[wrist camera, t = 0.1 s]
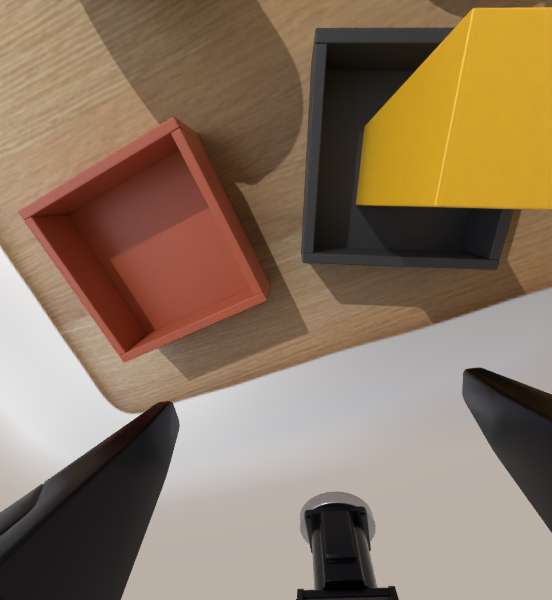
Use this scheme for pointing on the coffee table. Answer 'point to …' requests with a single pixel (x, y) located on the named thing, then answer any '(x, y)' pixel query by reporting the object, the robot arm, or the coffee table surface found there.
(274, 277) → the coffee table surface
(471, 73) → the yellow box
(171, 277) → the bin left
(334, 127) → the bin right
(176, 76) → the coffee table surface
